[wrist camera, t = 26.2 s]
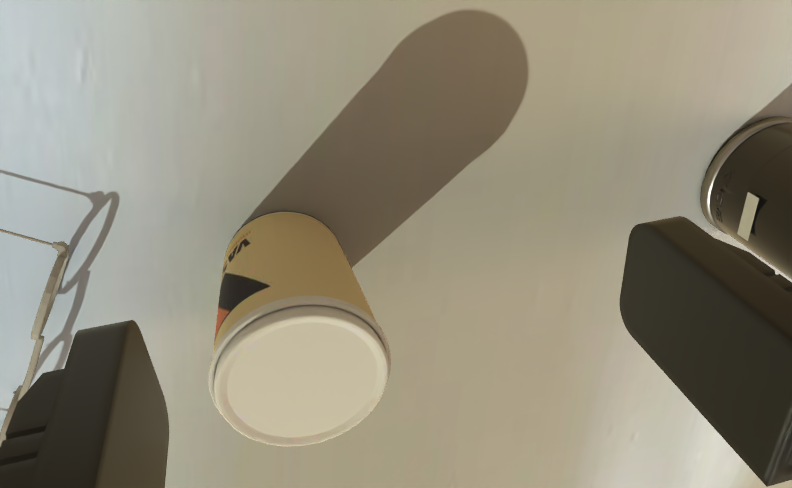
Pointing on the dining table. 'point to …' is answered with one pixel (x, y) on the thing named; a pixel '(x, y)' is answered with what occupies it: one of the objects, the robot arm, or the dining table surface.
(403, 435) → the dining table surface
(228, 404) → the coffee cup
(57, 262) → the eyeglasses
